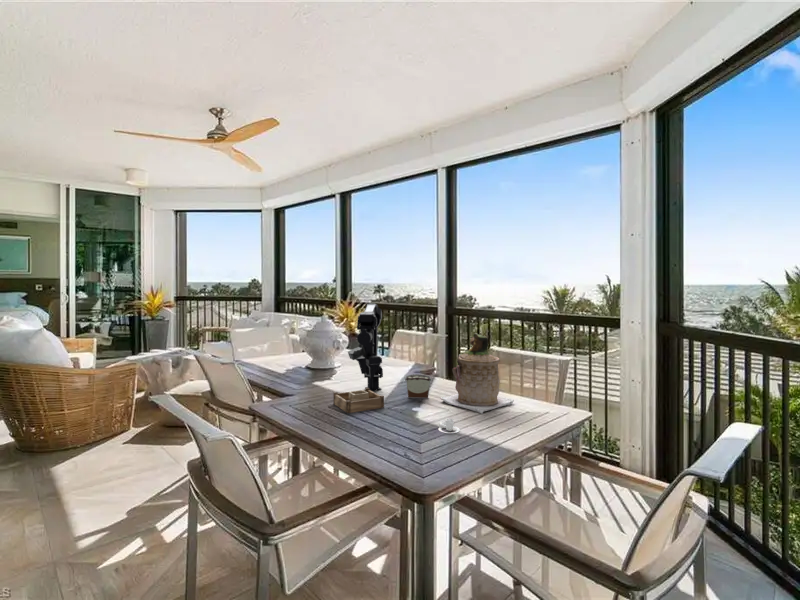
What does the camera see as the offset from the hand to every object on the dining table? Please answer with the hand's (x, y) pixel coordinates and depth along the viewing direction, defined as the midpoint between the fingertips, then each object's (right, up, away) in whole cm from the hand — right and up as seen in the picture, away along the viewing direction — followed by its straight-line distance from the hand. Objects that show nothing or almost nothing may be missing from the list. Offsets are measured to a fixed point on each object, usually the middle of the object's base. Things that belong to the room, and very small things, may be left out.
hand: (367, 376), depth 198 cm
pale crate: (-3, -12, -3) cm, 12 cm away
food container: (+23, -12, +12) cm, 29 cm away
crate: (-4, -12, -3) cm, 13 cm away
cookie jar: (+49, -13, +2) cm, 51 cm away
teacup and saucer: (+35, -15, -31) cm, 49 cm away
